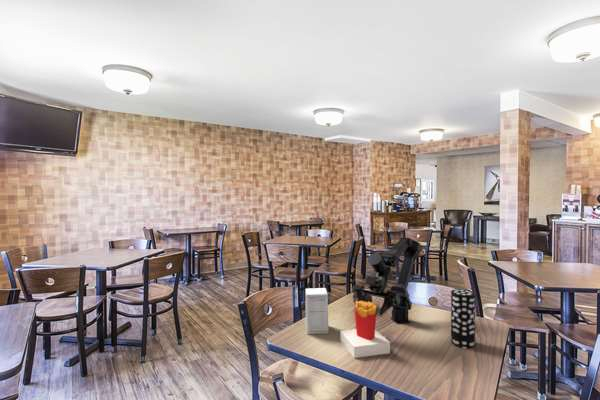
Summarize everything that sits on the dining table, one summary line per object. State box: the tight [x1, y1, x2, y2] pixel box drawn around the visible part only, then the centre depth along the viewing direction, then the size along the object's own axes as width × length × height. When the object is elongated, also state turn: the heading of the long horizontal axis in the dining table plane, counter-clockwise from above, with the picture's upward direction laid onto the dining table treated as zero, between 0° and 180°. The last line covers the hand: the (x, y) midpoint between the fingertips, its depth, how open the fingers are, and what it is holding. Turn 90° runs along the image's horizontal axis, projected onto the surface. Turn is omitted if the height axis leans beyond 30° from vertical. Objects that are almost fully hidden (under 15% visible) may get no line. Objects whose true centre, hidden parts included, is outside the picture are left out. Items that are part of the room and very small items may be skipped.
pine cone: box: [352, 291, 373, 305], centre depth 168 cm, size 18×10×10 cm, turn 165°
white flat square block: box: [339, 328, 391, 359], centre depth 126 cm, size 14×14×4 cm
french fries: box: [353, 301, 378, 340], centre depth 125 cm, size 9×4×13 cm, turn 44°
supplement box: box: [304, 287, 329, 335], centre depth 142 cm, size 10×9×17 cm
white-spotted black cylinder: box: [450, 288, 476, 350], centre depth 127 cm, size 8×8×20 cm
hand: (369, 312), depth 129 cm, fingers open, 9 cm apart
